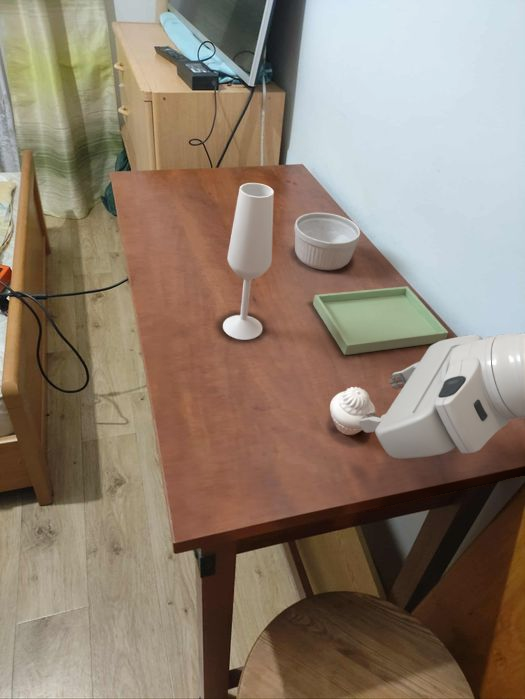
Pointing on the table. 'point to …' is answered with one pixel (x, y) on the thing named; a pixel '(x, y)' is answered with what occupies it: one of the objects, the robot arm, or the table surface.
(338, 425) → the muffin
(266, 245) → the champagne flute
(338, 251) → the ramekin
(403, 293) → the tray
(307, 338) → the table surface
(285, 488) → the table surface
